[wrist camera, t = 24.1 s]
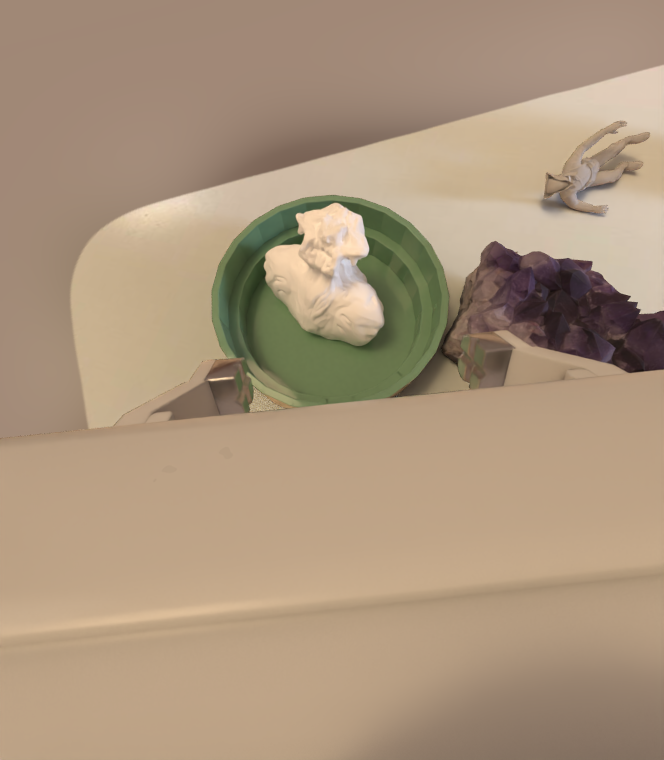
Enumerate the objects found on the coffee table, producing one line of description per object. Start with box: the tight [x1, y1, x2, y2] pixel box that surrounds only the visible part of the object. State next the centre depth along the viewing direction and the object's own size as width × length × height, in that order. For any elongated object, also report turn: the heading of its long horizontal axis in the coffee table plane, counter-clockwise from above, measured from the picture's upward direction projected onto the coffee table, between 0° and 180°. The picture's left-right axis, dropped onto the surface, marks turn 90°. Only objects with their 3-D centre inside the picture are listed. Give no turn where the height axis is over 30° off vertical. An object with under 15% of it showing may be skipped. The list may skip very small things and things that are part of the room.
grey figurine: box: [543, 121, 650, 213], centre depth 32 cm, size 8×5×12 cm
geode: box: [441, 241, 664, 373], centre depth 25 cm, size 20×12×10 cm, turn 52°
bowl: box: [212, 195, 449, 409], centre depth 27 cm, size 19×19×6 cm
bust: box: [264, 203, 384, 346], centre depth 26 cm, size 12×8×11 cm
